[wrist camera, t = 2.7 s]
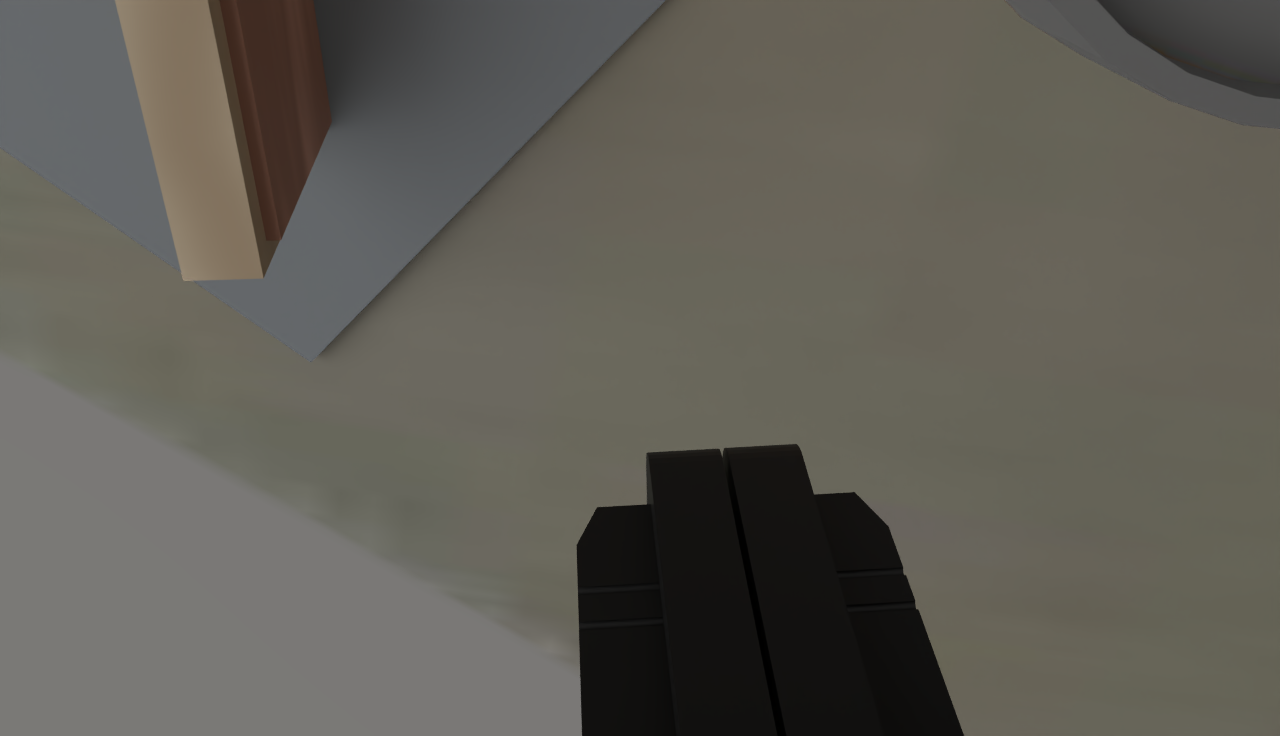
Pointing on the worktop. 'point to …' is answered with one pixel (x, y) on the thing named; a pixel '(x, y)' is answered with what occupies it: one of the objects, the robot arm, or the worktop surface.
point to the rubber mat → (353, 147)
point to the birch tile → (228, 121)
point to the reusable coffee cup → (1178, 48)
